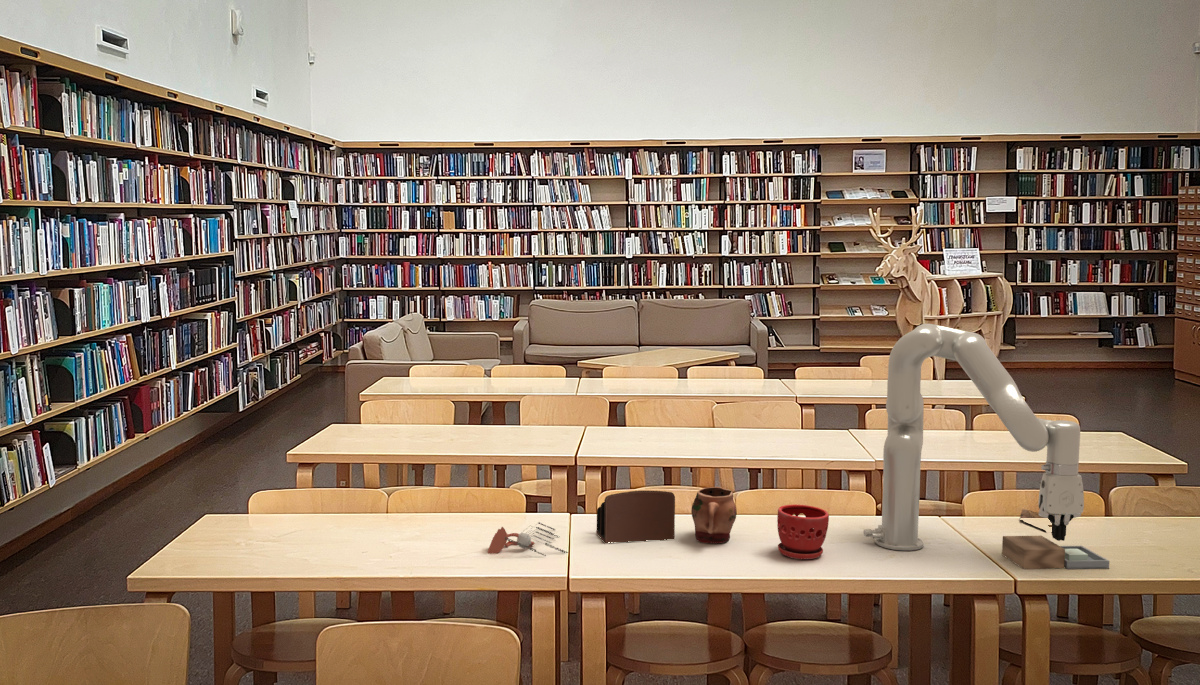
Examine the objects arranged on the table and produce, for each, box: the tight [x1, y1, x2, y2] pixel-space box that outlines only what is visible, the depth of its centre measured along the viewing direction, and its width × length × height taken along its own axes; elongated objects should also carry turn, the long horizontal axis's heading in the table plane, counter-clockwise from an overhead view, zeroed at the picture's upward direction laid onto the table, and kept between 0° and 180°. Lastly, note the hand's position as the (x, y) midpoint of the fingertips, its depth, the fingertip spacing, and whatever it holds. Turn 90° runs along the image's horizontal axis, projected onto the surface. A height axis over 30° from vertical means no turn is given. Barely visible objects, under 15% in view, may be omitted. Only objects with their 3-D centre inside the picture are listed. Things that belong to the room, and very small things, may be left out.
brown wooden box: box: [1001, 535, 1065, 570], centre depth 264 cm, size 10×12×5 cm
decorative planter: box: [691, 486, 738, 544], centre depth 279 cm, size 20×12×14 cm, turn 175°
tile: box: [1065, 549, 1088, 561], centre depth 265 cm, size 5×5×2 cm
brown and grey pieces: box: [487, 521, 568, 557], centre depth 276 cm, size 20×9×25 cm
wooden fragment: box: [1019, 508, 1052, 527], centre depth 303 cm, size 26×11×1 cm, turn 169°
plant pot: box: [776, 504, 830, 560], centre depth 268 cm, size 13×13×12 cm
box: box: [1059, 545, 1110, 570], centre depth 265 cm, size 11×13×2 cm
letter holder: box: [596, 490, 676, 544], centre depth 282 cm, size 10×20×14 cm, turn 103°
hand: (1058, 539), depth 264 cm, fingers closed
